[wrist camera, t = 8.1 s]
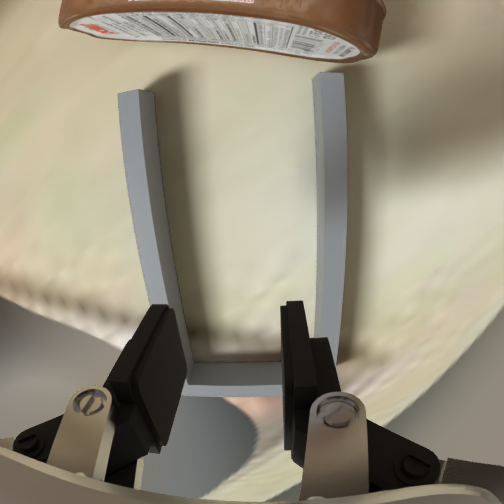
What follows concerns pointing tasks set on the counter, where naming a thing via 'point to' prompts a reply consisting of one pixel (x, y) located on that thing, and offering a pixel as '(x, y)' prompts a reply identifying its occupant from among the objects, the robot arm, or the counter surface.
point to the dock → (160, 250)
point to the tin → (238, 24)
